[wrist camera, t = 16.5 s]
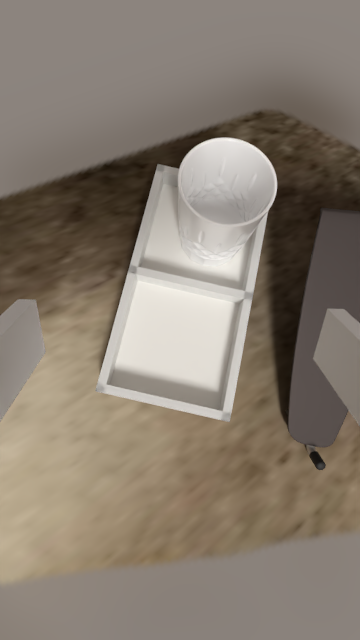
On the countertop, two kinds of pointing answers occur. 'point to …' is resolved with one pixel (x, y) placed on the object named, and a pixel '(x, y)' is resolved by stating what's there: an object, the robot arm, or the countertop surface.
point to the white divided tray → (179, 316)
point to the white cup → (222, 198)
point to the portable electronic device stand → (319, 295)
